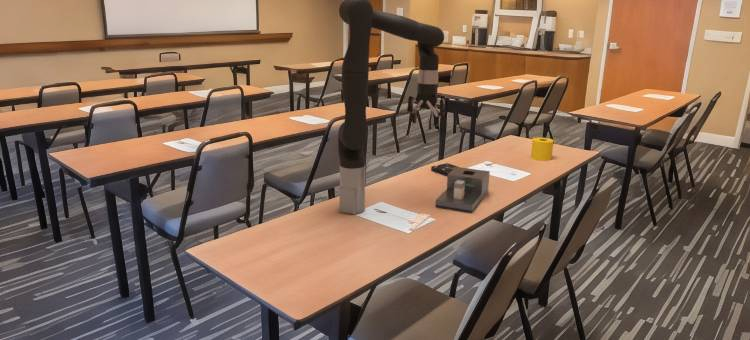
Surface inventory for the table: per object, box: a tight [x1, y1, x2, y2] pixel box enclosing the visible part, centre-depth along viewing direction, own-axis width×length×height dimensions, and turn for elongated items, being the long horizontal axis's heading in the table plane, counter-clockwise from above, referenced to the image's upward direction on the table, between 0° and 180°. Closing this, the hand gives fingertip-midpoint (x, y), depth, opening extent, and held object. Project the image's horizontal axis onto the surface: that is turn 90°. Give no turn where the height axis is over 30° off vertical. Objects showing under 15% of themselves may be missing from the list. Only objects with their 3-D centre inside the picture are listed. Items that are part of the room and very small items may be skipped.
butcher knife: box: [408, 213, 431, 231], centre depth 192 cm, size 5×15×1 cm, turn 152°
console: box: [435, 166, 491, 214], centre depth 214 cm, size 26×14×9 cm, turn 156°
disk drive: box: [430, 162, 459, 177], centre depth 248 cm, size 10×3×15 cm
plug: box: [454, 180, 465, 200], centre depth 208 cm, size 4×3×8 cm
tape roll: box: [530, 137, 554, 162], centre depth 273 cm, size 10×10×9 cm
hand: (425, 124), depth 208 cm, fingers open, 8 cm apart
